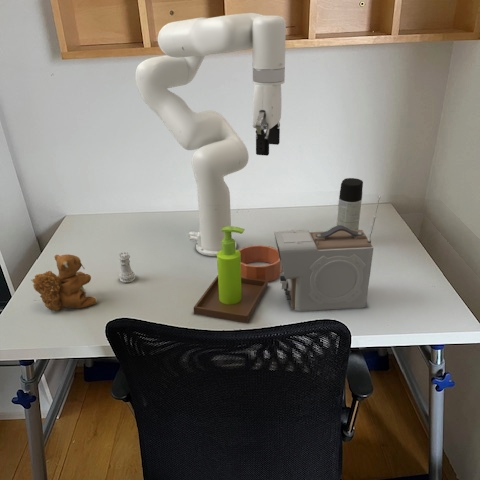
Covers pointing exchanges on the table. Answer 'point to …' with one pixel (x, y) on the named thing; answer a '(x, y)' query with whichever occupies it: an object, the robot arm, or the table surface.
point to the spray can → (350, 203)
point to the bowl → (263, 255)
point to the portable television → (325, 267)
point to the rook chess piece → (125, 268)
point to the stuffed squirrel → (64, 285)
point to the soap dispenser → (229, 268)
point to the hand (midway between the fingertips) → (268, 149)
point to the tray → (237, 312)
